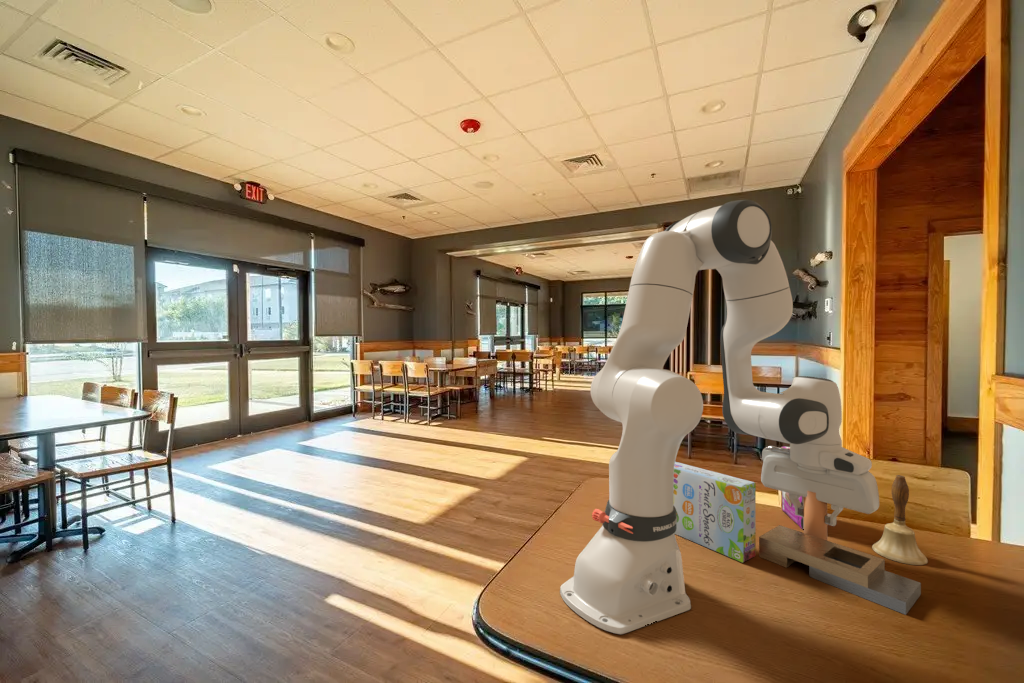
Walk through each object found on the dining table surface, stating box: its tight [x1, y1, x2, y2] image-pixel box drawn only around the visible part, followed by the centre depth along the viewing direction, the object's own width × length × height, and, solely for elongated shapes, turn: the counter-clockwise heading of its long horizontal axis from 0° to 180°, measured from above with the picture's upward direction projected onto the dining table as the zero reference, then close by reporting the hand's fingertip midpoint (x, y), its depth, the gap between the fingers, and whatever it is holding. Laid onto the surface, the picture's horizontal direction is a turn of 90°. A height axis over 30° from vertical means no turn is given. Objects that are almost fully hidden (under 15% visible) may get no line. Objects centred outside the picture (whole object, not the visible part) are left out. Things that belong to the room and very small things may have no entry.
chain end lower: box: [808, 557, 922, 616], centre depth 75 cm, size 9×13×2 cm
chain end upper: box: [758, 524, 886, 588], centre depth 80 cm, size 9×17×4 cm, turn 35°
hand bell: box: [871, 474, 929, 566], centre depth 85 cm, size 8×8×16 cm
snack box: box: [673, 461, 757, 563], centre depth 92 cm, size 21×6×15 cm, turn 34°
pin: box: [803, 491, 828, 541], centre depth 88 cm, size 4×4×12 cm
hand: (815, 519), depth 88 cm, fingers closed on pin, 4 cm apart
